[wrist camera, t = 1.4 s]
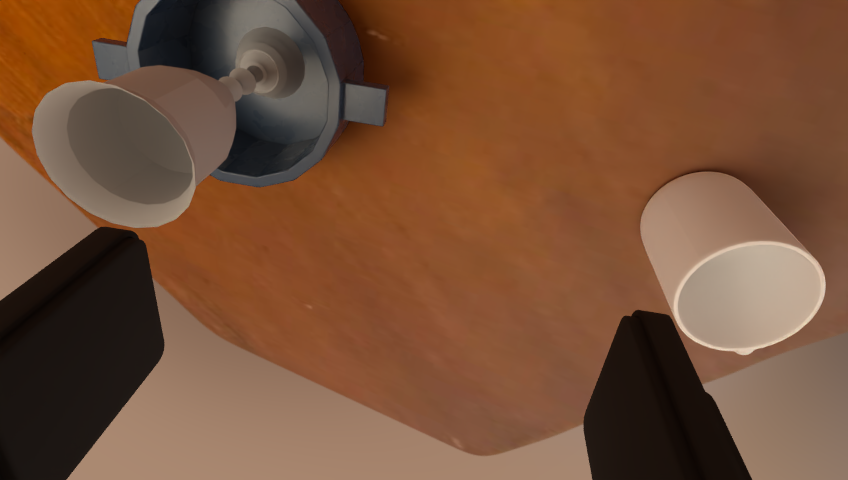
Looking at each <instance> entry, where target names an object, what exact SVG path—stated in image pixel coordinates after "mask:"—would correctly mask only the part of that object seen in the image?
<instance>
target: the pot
mask: <svg viewBox="0 0 848 480" xmlns="http://www.w3.org/2000/svg"><path fill="white" fill-rule="evenodd" d="M261 27H269V28H273V29H277V30H279V31H281V32H283V33H285V34H286V35H288V36H289V37H290V38H291V39H292V40H293V41H294V42H295V43H296V45H297V46H298V48H299V50H300V52H301V53H302V56H303V60H304V64H305V74H304V79H303V81H302V84H301V86H300V87H299V89H298V90H297V91H296V92H295V93H294V94H292V95H290V96H288V97H286V98H279V99H274V98H269V97H265V96H260V95H256V94H255V93H253V92H252V93H251V94H249V95H243V94H242V97H241V98H240V99H239V100H238V101H236V102H235V108H236V131H235V135H234V139H233V143H232V146H231V149H230V151H229V154H228V156H227V159H226V160H225V161H224V162H223V163H222V164H221V165H220V166H219V167H218V168H216V169H215V170H214V171H213V172H212V173H211V174H210V175H211V176H213V177H215V178H216V179H218V180H220V181H221V180H222V181H225V182H231V183H237V184H242V185H248V186H254V187H264V186H269V185H274V184H278V183H283V182H288V181H293V180H295V179H297V178H298V177H299V176H301V175H302V174H303V173H304V172H306V171H307V170H308V169H310V168H311V167H312V166H314V165H315V164H316V163H318V162H319V161H320V160H322V158H323V157H324V156H325V155H326V153H327V152H328V151H329V149H330V148H331V147H332V145H333V144H334V143H335V142H336V140H337V139H338V138H339V136H340V135H341V134H342V132H343V131H344V130H345V129H346V127H347V125H348V123H349V121H353V122H359V123H365V124H371V125H377V126H384V124H385V122H386V117H387V106H388V95H389V86H388V85H382V84H376V83H370V82H364V81H363V79H364V65H363V64H364V61H363V56H362V51H361V47H360V43H359V39H358V36H357V34H356V31H355V28H354V26H353V24H352V21H351V20H350V18H349V16H348V14H347V13H346V11H345V10H344V8H343V7H342V5H341V4H340V2H339V1H338V0H140V1H139V2H138V4H137V5H136V7H135V10H134V14H133V18H132V22H131V27H130V31H129V35H128V40H127V42H123V41H117V40H111V39H105V38H100V39H97V40H93V41H92V45H93V50H94V55H95V60H96V65H97V70H98V75H99V78H100V79H105V80H112V79H114V78H117V77H119V76H122V75H124V74H126V73H129V72H131V71H134V70H136V69H139V68H141V67H148V66H156V65H163V66H170V67H177V68H184V69H189V70H194V71H198V72H200V73H202V74H205V75H207V76H210V77H212V78H214V79H216V80H219V79H220V78H222V77H226V76H228V77H229V75H230V72H231V71H232V70H233V69H235V68H236V62H235V60H236V55H237V49H238V46H239V43H240V41H241V40H242V38H243V37H244V36H245V34H246V33H248V32H250V31H251V30H253V29H255V28H261Z"/></svg>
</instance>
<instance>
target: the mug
mask: <svg viewBox="0 0 848 480" xmlns="http://www.w3.org/2000/svg"><path fill="white" fill-rule="evenodd" d="M640 232H641V238H642V242H643V245H644V248H645V250H646V252H647V255H648V257H649V259H650V262H651V264H652V266H653V269H654V271H655V273H656V276H657V278H658V280H659V283H660V285H661V287H662V290H663V292H664V294H665V297H666V299H667V301H668V304H669V306H670V308H671V311H672V313H673V315H674V318H675V320H676V322H677V324H678V326H679V327H680V328H681V330H682V331H683V332H684V333H685V334H686V335H687V336H688V337H690V338H691V339H692V340H694V341H695V342H697V343H699V344H701V345H704V346H707V347H709V348H713V349H717V350H724V351H735V352H736V353H737V354H740V355H748V354H750V353H752V352H753V351H754V350H755V349H758V348H763V347H766V346H769V345H772V344H775V343H777V342H780V341H782V340H784V339H786V338H788V337H790V336H791V335H793V334H794V333H796V332H797V331H799V330H800V329H801V328H802V327H804V326H805V325H806V324H807V323H808V322H809V321H810V320H811V319H812V318H813V316H814V315H815V314H816V312H817V311H818V309H819V307H820V306H821V303H822V301H823V298H824V294H825V284H826V283H825V277H824V273H823V270H822V268H821V266H820V265H819V263H818V261H817V260H816V259H815V258H814V257H813V256H812V255H811V254H810V253H809V252H808V251H807V249H806V248H805V247H804V246H803V245H802V244H801V243H800V242H799V241H798V240H797V239H796V237H795V236H794V235H793V234H792V233H791V232H790V231H789V230H788V229H787V228H786V227H785V225H784V224H783V223H782V222H781V221H780V220H779V219H778V218H777V217H776V216H775V215H774V214H773V212H772V211H771V210H770V209H769V208H768V207H767V206H766V205H765V204H764V203H763V202H762V200H761V199H760V198H759V197H758V196H757V195H756V194H755V193H754V192H753V191H752V190H751V189H750V188H749V187H748V186H747V185H746V184H744V183H743V182H742V181H740V180H738V179H736V178H735V177H733V176H730V175H727V174H724V173H720V172H697V173H691V174H687V175H684V176H681V177H679V178H677V179H674V180H672V181H671V182H669V183H667V184H666V185H664V186H663V187H662V188H660V189H659V190H658V191H657V192H656V193H655V194H654V195H653V196H652V198H651V199H650V200H649V202H648V203H647V205H646V207H645V209H644V211H643V214H642V217H641V222H640Z"/></svg>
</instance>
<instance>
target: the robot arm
mask: <svg viewBox="0 0 848 480" xmlns="http://www.w3.org/2000/svg"><path fill="white" fill-rule="evenodd" d="M163 351H164V338H163V333H162V328H161V322H160V317H159V312H158V306H157V301H156V296H155V291H154V285H153V280H152V275H151V269H150V264H149V259H148V254H147V248H146V245H145V243H144V241H142V240H139V238H138V236H137V234H136V233H135V232H133V231H129V230H123V229H117V228H110V227H100V228H98V229H97V230H95V231H94V232H92V233H91V234H90V235H88V236H87V237H86V238H84V239H83V240H81V241H80V242H79V243H77V244H76V245H75V246H74V247H72V248H71V249H70V250H68V251H67V252H66V253H64V254H63V255H61V256H60V257H59V258H57V259H56V260H55V261H53V262H52V263H51V264H49V265H48V266H46V267H45V268H44V269H42V270H41V271H40V272H38V273H37V274H36V275H34V276H33V277H32V278H30V279H29V280H28V281H27V282H25V283H24V284H22V285H21V286H20V287H18V288H17V289H15V290H14V291H13V292H11V293H10V294H9V295H7V296H6V297H5V298H3V299H2V300H1V301H0V480H66V479H67V478H68V477H69V476H70V474H71V473H72V472H73V470H74V469H75V468H76V467H77V465H78V464H79V463H80V462H81V460H82V459H83V458H84V456H85V455H86V454H87V452H88V451H89V450H90V449H91V448H92V446H93V445H94V444H95V442H96V441H97V440H98V439H99V437H100V436H101V435H102V433H103V432H104V431H105V430H106V428H107V427H108V426H109V424H110V423H111V422H112V421H113V419H114V418H115V417H116V416H117V414H118V413H119V412H120V410H121V409H122V407H124V405H125V404H126V403H127V402H128V400H129V399H130V398H131V396H132V395H133V394H134V393H135V391H136V390H137V389H138V387H139V386H140V385H141V384H142V382H143V381H144V380H145V379H146V377H147V376H148V375H149V373H150V372H151V371H152V370H153V368H154V367H155V366H156V364H157V363H158V362H159V360H160V359H161V357H162V354H163ZM584 435H585V440H586V446H587V452H588V457H589V463H590V468H591V474H592V479H593V480H752V478H751V476H750V474H749V472H748V470H747V468H746V466H745V464H744V462H743V459H742V457H741V455H740V453H739V451H738V449H737V447H736V445H735V442H734V440H733V438H732V436H731V434H730V432H729V430H728V428H727V426H726V423H725V422H724V419H723V417H722V415H721V413H720V411H719V409H718V407H717V405H716V402H715V401H714V400H713V398H712V396H711V395H709V394H708V393H707V392H705V390H704V388H703V386H702V384H701V382H700V379H699V377H698V375H697V373H696V371H695V369H694V366H693V364H692V362H691V360H690V358H689V356H688V353H687V351H686V349H685V347H684V345H683V343H682V340H681V338H680V336H679V334H678V332H677V330H676V328H675V325H674V323H673V321H672V319H671V318H670V316H669V315H667V314H661V313H654V312H648V311H641V310H636V311H635V312H634V313H633V314H632V316H631V317H630V316H624V317H623V318H622V319H621V321H620V324H619V326H618V329H617V332H616V334H615V337H614V339H613V342H612V345H611V347H610V350H609V352H608V355H607V358H606V360H605V363H604V365H603V368H602V371H601V373H600V376H599V378H598V381H597V383H596V386H595V389H594V391H593V394H592V396H591V399H590V402H589V404H588V407H587V409H586V412H585V416H584Z"/></svg>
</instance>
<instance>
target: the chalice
mask: <svg viewBox="0 0 848 480" xmlns="http://www.w3.org/2000/svg"><path fill="white" fill-rule="evenodd" d="M235 62H236V68H235V69H233V70H232V71H231V72H230V75H229V77H228V76H226V77H222V78H220V79H219V80H216V79H214V78H212V77H210V76H207V75H205V74H202V73H200V72H198V71H194V70H189V69H184V68H177V67H170V66H163V65H156V66H148V67H141V68H139V69H136V70H134V71H131V72H129V73H126V74H124V75H122V76H119V77H117V78H114V79H112V80H109V81H107V82H104V83H100V82H95V81H81V82H72V83H65V84H63V85H61V86H60V87H58V88H56V89H54V90H52V91H50V92H48V93H47V94H46V95H45V97H44V98H43V100H42V101H41V102H40V104H39V105H38V107H37V108H36V110H35V114H34V121H33V128H32V134H33V138H34V143H35V147H36V152H37V155H38V157H39V159H40V161H41V162H42V164H43V166H44V168H45V170H46V171H47V173H48V175H49V177H50V178H51V179H52V180H53V181H54V183H55V184H56V185H57V186H58V187H59V188H60V189H61V190H62V191H63V192H64V193H65V195H66V196H67V197H68V198H70V199H71V200H72V201H74V202H75V203H77V204H78V205H79V206H81V207H82V208H84V209H85V210H86V211H88V212H89V213H91V214H93V215H96V216H98V217H100V218H102V219H105V220H107V221H109V222H111V223H115V224H119V225H124V226H129V227H134V228H142V227H158V226H160V225H163V224H165V223H168V222H170V221H173V220H175V219H176V218H177V217H178V216H179V215H180V214H181V213H183V212H184V211H185V210H186V209H187V208H188V207H189V204H190V202H191V199H192V196H193V193H194V191H195V188H196V186H197V185H198V184H199V183H200V182H201V181H203V180H204V179H205V178H206V177H207V176H208V175H210V174H211V173H212V172H213V171H214V170H215V169H216V168H218V167H219V166H220V165H221V164H222V163H223V162H224V161H225V160H226V159H227V156H228V154H229V151H230V149H231V146H232V143H233V139H234V135H235V131H236V108H235V102H236V101H238V100H239V99H240V98H241V97H242V94H243V95H249V94H251V93H252V92H253V93H255V94H256V95H260V96H265V97H269V98H274V99H279V98H286V97H288V96H290V95H292V94H294V93H295V92H296V91H297V90H298V89H299V87H300V86H301V84H302V81H303V79H304V74H305V64H304V60H303V56H302V53H301V52H300V50H299V48H298V46H297V45H296V43H295V42H294V41H293V40H292V39H291V38H290V37H289V36H288V35H286V34H285V33H283V32H281V31H279V30H277V29H273V28H269V27H261V28H255V29H253V30H251V31H250V32H248V33H246V34H245V36H244V37H243V38H242V40H241V41H240V43H239V46H238V49H237V55H236V60H235Z"/></svg>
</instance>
